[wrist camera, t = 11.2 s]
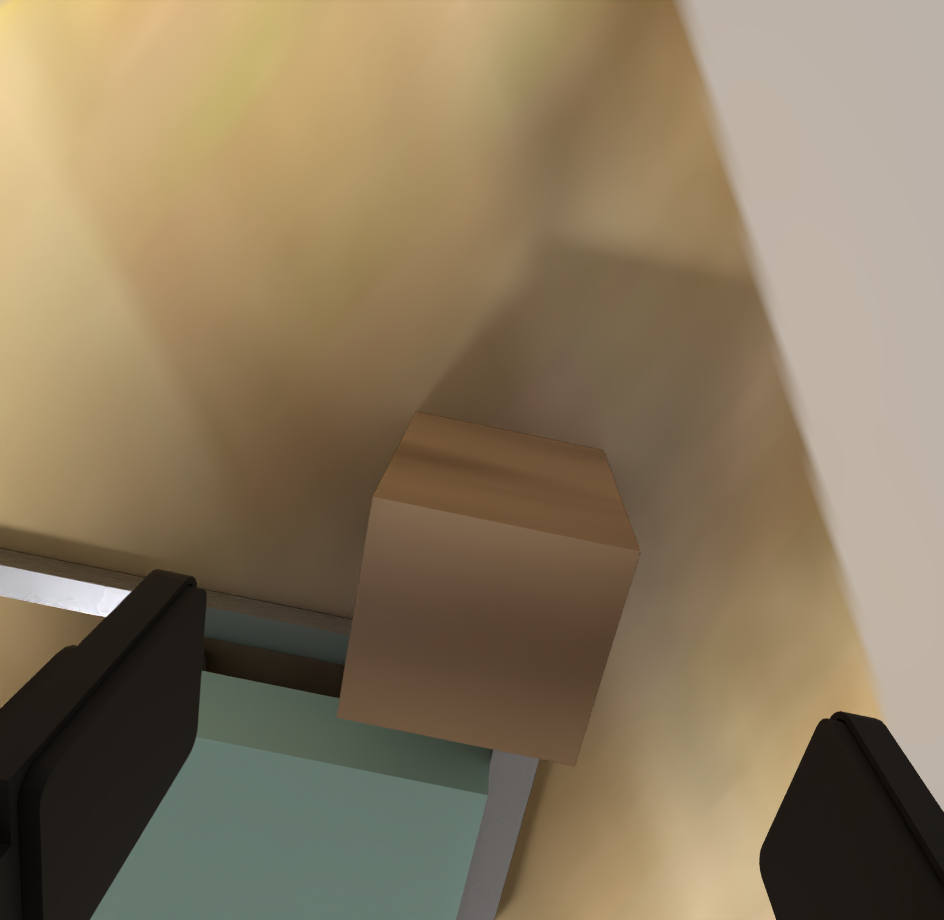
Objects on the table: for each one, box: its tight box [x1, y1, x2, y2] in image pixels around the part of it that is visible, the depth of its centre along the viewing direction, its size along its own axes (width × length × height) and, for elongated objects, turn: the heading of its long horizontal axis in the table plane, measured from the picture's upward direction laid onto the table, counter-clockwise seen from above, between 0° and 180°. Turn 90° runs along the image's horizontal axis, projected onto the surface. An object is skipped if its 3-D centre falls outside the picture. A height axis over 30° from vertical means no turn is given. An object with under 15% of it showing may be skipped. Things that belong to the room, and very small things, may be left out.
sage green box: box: [90, 653, 490, 920], centre depth 21 cm, size 9×11×4 cm
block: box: [336, 412, 640, 766], centre depth 17 cm, size 5×5×6 cm
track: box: [0, 549, 539, 920], centre depth 21 cm, size 12×26×3 cm, turn 79°
